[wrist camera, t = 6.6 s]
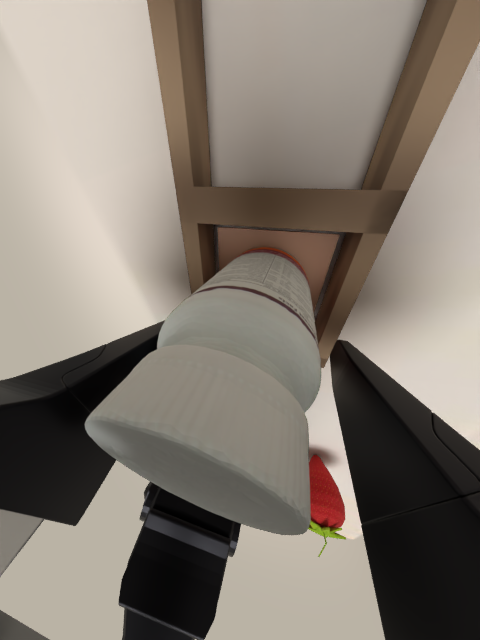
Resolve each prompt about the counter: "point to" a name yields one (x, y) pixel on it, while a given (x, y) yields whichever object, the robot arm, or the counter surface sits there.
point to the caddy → (306, 204)
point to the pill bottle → (226, 397)
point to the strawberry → (324, 501)
